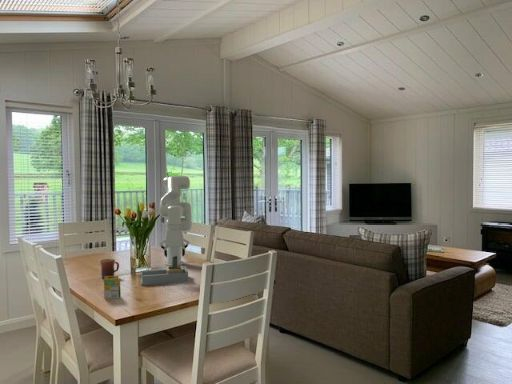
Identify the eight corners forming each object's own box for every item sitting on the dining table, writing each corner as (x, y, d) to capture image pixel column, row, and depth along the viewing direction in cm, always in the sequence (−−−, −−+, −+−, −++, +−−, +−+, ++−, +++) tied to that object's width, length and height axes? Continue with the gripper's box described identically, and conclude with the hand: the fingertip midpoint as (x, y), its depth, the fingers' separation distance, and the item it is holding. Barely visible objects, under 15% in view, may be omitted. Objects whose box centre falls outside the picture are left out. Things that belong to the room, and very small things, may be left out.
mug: (97, 278, 237) (96, 261, 236) (106, 274, 245) (105, 258, 245) (114, 279, 234) (114, 262, 233) (123, 276, 242) (122, 259, 241)
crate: (166, 275, 236) (166, 255, 236) (181, 274, 239) (181, 254, 238) (167, 279, 228) (167, 258, 227) (183, 278, 230) (183, 257, 230)
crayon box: (120, 296, 202) (120, 274, 201) (118, 298, 199) (118, 275, 198) (106, 297, 202) (105, 274, 201) (104, 298, 199) (103, 276, 198)
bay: (141, 279, 234) (141, 269, 234) (185, 276, 242) (185, 266, 241) (141, 285, 222) (141, 274, 222) (188, 281, 229) (188, 271, 229)
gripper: (188, 225, 238) (188, 254, 238) (158, 227, 233) (159, 256, 233) (190, 227, 230) (190, 256, 231) (159, 228, 226) (159, 258, 226)
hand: (174, 256), depth 232 cm, fingers open, 9 cm apart
